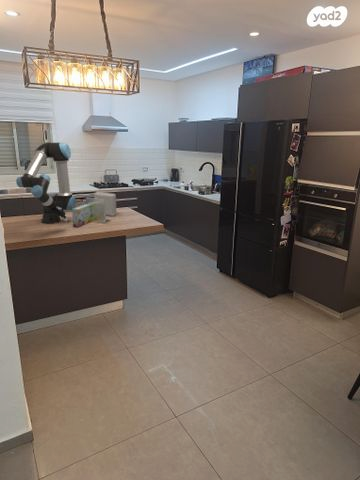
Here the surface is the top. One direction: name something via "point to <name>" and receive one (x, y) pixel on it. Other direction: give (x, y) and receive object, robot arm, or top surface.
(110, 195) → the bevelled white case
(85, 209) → the snack box
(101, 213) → the frosted plastic container
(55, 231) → the top surface
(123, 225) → the top surface
